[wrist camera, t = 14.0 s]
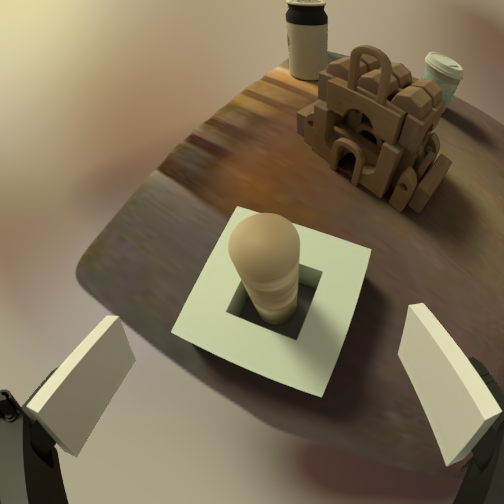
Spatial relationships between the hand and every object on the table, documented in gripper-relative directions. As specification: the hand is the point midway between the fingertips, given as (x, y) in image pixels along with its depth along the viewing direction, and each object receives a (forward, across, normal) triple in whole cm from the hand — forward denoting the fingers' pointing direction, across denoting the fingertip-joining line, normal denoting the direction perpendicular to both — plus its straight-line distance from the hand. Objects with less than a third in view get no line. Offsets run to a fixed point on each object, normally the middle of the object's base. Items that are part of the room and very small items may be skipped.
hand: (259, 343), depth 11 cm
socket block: (+15, 0, -7) cm, 17 cm away
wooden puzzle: (+31, +16, +8) cm, 36 cm away
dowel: (+15, 0, -7) cm, 17 cm away
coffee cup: (+43, +36, +20) cm, 60 cm away
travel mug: (+50, +10, +27) cm, 57 cm away
